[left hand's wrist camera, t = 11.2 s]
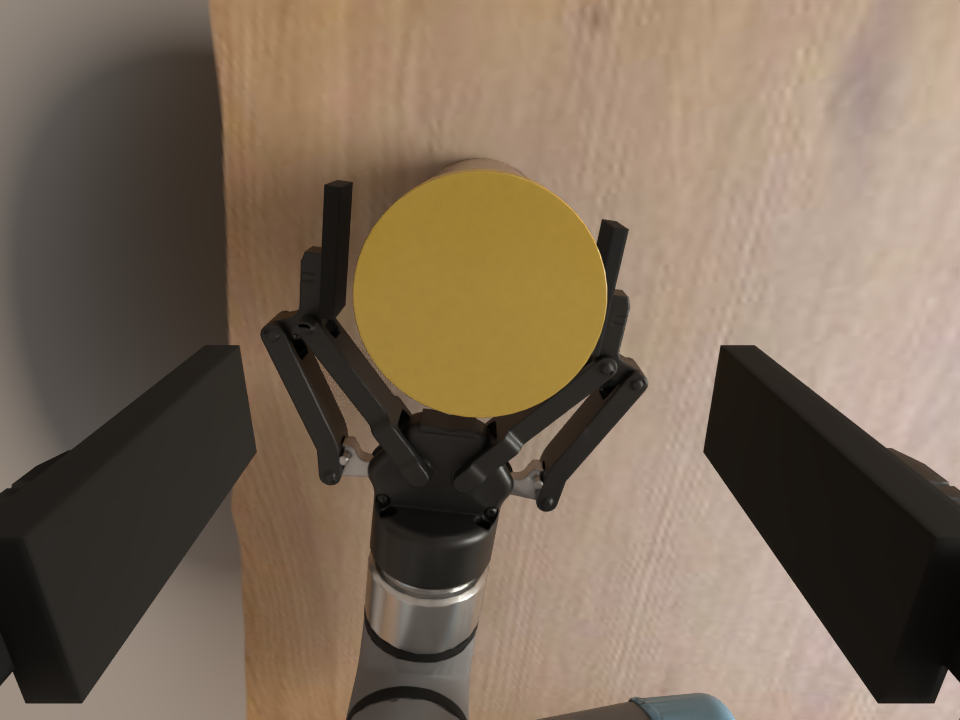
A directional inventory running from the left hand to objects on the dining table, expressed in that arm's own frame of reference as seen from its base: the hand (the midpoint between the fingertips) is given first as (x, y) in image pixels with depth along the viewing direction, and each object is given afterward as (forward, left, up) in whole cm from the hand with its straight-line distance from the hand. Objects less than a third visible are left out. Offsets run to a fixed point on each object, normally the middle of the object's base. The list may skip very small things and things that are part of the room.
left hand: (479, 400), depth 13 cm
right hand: (-2, -1, -17) cm, 17 cm away
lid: (0, 0, -8) cm, 8 cm away
